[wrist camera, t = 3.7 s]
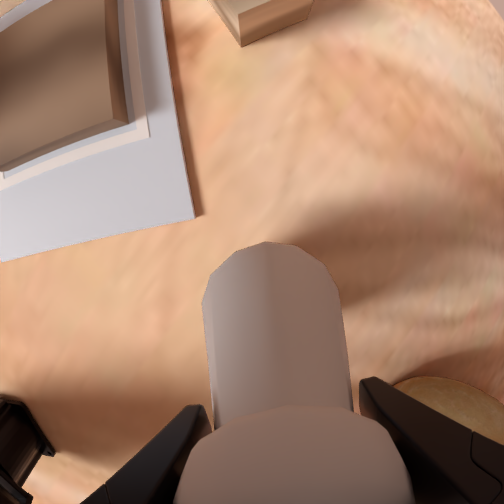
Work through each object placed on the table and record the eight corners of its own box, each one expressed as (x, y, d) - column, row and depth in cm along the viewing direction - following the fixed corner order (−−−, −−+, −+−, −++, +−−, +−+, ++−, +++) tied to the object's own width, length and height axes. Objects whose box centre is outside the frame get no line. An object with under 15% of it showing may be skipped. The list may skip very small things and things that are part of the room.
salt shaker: (265, 361, 17) (277, 603, 4) (185, 289, 16) (62, 530, 3) (350, 289, 16) (499, 507, 3) (272, 206, 15) (361, 385, 2)
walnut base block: (129, 124, 15) (113, 118, 13) (7, 171, 15) (-14, 172, 13) (117, -9, 13) (104, -25, 11) (3, 49, 13) (-15, 42, 11)
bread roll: (439, 466, 22) (468, 523, 14) (324, 438, 20) (344, 526, 12) (507, 393, 20) (552, 443, 12) (412, 337, 18) (476, 414, 10)
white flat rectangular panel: (196, 217, 16) (194, 218, 16) (4, 260, 17) (0, 262, 16) (156, -54, 12) (154, -58, 12) (-12, 29, 13) (-16, 28, 12)
